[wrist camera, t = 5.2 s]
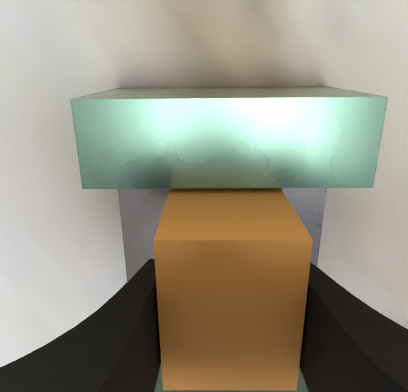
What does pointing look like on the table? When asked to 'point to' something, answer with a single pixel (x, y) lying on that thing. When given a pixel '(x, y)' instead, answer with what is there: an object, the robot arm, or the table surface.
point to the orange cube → (231, 289)
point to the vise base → (224, 148)
